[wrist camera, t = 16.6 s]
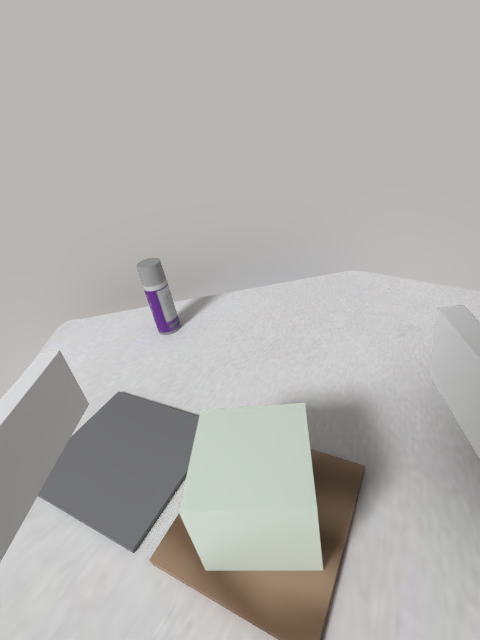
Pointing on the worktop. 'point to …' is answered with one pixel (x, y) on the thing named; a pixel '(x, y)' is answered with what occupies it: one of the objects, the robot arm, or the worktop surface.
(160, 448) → the mat
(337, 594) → the worktop surface
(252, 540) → the pale mint green cube
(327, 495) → the board
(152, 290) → the container
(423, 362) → the worktop surface
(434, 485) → the worktop surface
